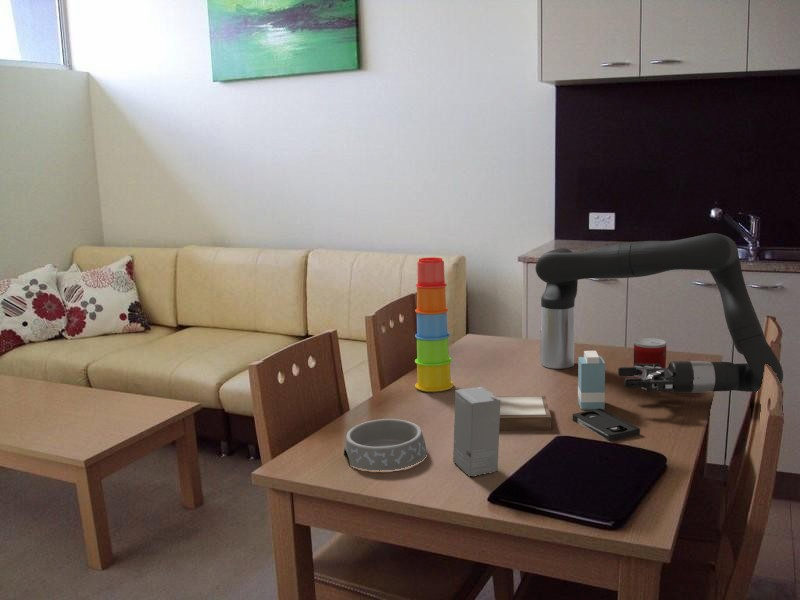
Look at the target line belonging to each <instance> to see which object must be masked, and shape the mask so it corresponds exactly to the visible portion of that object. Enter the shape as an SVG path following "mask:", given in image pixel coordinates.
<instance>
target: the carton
mask: <svg viewBox="0 0 800 600" xmlns="http://www.w3.org/2000/svg"><path fill="white" fill-rule="evenodd" d="M577 361H578V364H577V365H578V366H577V367H578V369H577V374H578V375H577V378H578V379H577V402H578V403H577V404H579V407H580V409H581V410H596V409H599V408H601V409H603V410H605V408H606V407H605V406H606V405H605V404H606V403H605V402H606V393H605V389H606V362H605V360H604V358H603V357H602V356H600V355H599V354H598V352H597V350H583V356H578V359H577Z"/></svg>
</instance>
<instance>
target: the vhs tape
mask: <svg viewBox="0 0 800 600" xmlns="http://www.w3.org/2000/svg"><path fill="white" fill-rule="evenodd" d="M572 422H575V424H578V425H580V426H582V427H584V428H585V429H587V430H588V431H591V432H592V433H595V434H596V435H598V436H599V437H601V438H603V439H604V440H607V442H614V441H619V440H624V439H628V438H632V437H637V436H640V435H641V428H640V427H638V426H636V425H634V424H632V423H631V422H628V421H627V420H624V419H622V418H619V417H618V416H616V415H615V414H612V413H610V412H608V411H606V410H605V409H601V408H599V409H589V410H585V411H582V412H577V413H573V414H572ZM620 426H621V427H623V428H621V427H620Z"/></svg>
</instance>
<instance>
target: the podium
mask: <svg viewBox="0 0 800 600" xmlns="http://www.w3.org/2000/svg"><path fill="white" fill-rule="evenodd" d="M494 396H495V397H497V398H498V399H500V424H499V431H518V430H519V431H529V430H531V431H533V430H534V431H536V430H537V431H545V430H546V431H549V430H550V431H551V430H552V415H551V412H550V411H551V410H550V407H549V404H548V401H547V397H546V395H521V396H520V395H516V396H514V395H513V396H512V395H509V396H507V395H506V396H501V395H500V396H498V395H494Z"/></svg>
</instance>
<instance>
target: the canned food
mask: <svg viewBox="0 0 800 600" xmlns="http://www.w3.org/2000/svg"><path fill="white" fill-rule="evenodd" d="M637 363H638V364H660V367H661V368H665V369H667V368H666V366H667V341H666V340H664V339H661V338H656V337H655V338H654V337H641V338H636V339H635V340H634V342H633V367H634V366H635V364H637ZM640 371H642V370H640ZM632 378H641V377H635V376H632ZM641 379H642V378H641Z"/></svg>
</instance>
